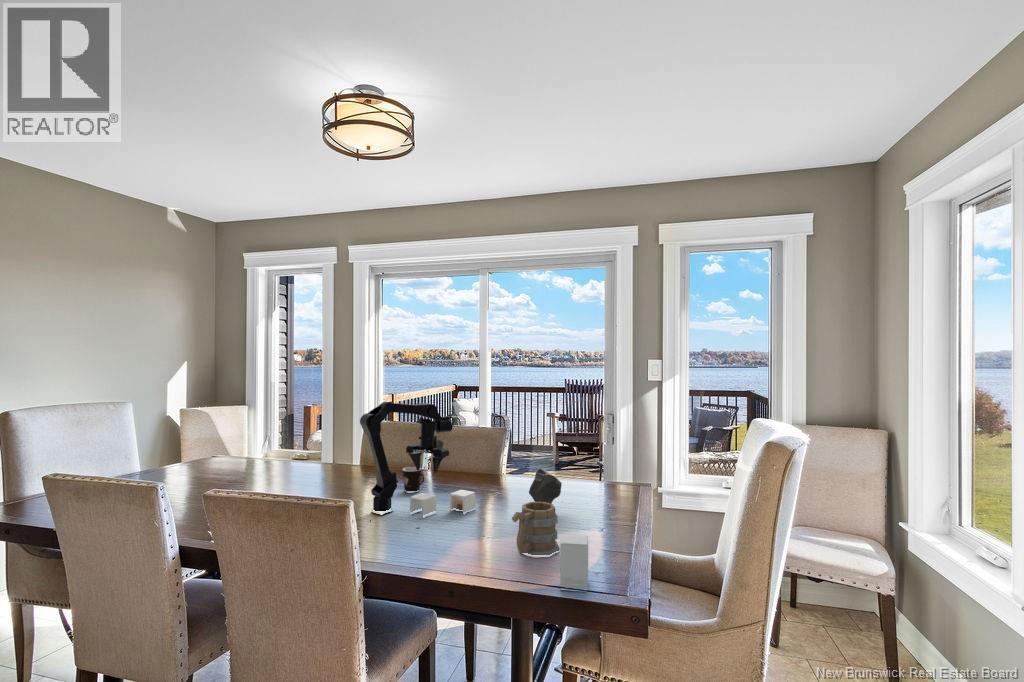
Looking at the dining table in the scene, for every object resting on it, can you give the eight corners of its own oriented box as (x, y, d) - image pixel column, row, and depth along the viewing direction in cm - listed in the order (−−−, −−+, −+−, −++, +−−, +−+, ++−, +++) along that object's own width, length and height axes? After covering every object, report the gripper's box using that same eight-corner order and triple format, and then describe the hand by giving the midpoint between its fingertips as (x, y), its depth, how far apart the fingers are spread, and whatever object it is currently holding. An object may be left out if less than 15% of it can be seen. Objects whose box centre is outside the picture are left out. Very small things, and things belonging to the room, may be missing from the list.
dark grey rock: (568, 511, 206) (569, 465, 206) (555, 523, 192) (555, 474, 192) (535, 507, 212) (535, 462, 212) (520, 518, 198) (520, 470, 198)
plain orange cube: (463, 513, 204) (463, 502, 204) (455, 511, 206) (455, 501, 206) (469, 510, 208) (469, 500, 208) (461, 508, 210) (461, 498, 210)
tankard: (534, 540, 175) (534, 495, 175) (566, 549, 167) (566, 502, 167) (495, 558, 160) (495, 509, 160) (528, 569, 152) (528, 517, 152)
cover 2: (464, 514, 202) (464, 496, 202) (449, 511, 206) (450, 493, 206) (475, 509, 208) (475, 492, 208) (460, 506, 212) (460, 489, 212)
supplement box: (587, 593, 137) (587, 544, 137) (559, 591, 138) (559, 543, 138) (588, 581, 144) (588, 535, 144) (561, 578, 145) (561, 533, 146)
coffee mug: (400, 490, 237) (400, 468, 237) (418, 488, 240) (419, 466, 241) (406, 496, 226) (406, 473, 226) (425, 494, 230) (425, 471, 230)
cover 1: (423, 518, 197) (424, 499, 197) (409, 515, 201) (409, 496, 201) (436, 513, 203) (436, 495, 203) (422, 510, 207) (422, 492, 207)
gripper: (457, 433, 219) (456, 471, 218) (422, 429, 228) (422, 465, 228) (440, 436, 209) (440, 476, 209) (405, 432, 219) (404, 470, 218)
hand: (426, 471), depth 216 cm, fingers open, 9 cm apart
